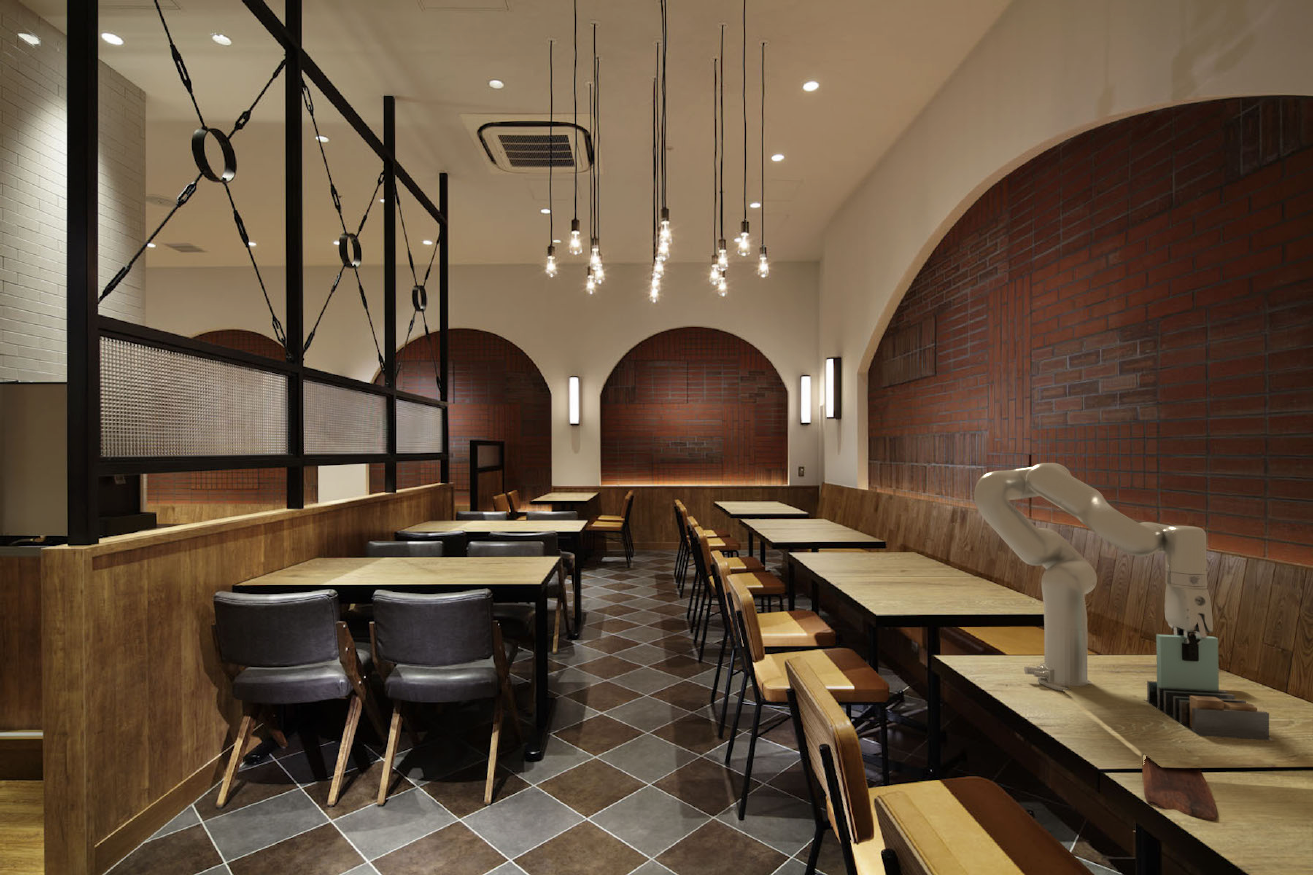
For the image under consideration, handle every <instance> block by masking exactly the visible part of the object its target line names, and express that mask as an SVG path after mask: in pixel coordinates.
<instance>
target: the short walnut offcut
mask: <svg viewBox="0 0 1313 875" xmlns="http://www.w3.org/2000/svg"><path fill="white" fill-rule="evenodd" d="M1250 704H1251V703H1247V702H1246V703H1231V702H1223V709H1226V710H1244V711H1258V707H1256V706H1255V705H1253V704H1252V705H1253V706H1252V705H1250Z"/></svg>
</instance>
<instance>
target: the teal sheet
mask: <svg viewBox="0 0 1313 875" xmlns="http://www.w3.org/2000/svg"><path fill="white" fill-rule="evenodd" d="M1155 639H1156V644H1155V645H1156V681H1157V687H1166V688H1186V689H1205V690H1220V689H1219V688H1220V686H1219V685H1220V684H1219V683H1220V680H1219V679H1220V677H1219V675H1220V674H1219V673H1220V672H1219V670H1220V669H1219V638H1218V637H1215V636H1210V635H1209V636H1208V635H1207V638H1206V639H1201V640H1200V644H1199V661H1184V660H1182V643H1184V636H1183V635H1174V634H1157V633H1156V636H1155ZM1157 695H1158V691H1157Z"/></svg>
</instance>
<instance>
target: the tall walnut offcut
mask: <svg viewBox="0 0 1313 875" xmlns="http://www.w3.org/2000/svg"><path fill="white" fill-rule="evenodd" d="M1192 708H1208V709H1223V701H1222V700H1220V699H1218V698H1216V697H1206V696H1190V726H1191V727H1192Z"/></svg>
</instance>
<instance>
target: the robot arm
mask: <svg viewBox="0 0 1313 875" xmlns="http://www.w3.org/2000/svg"><path fill="white" fill-rule="evenodd" d="M1037 497H1042V498H1043V499H1045V500H1046V501H1048V502H1050V503H1051V504H1053V505H1055V506H1057V507H1058V508H1060V509H1061V510H1063V511H1065V512H1066V513H1067V514H1070V515H1071V516H1073V517H1074V518H1076V519H1077V520H1078V521H1079V522H1081V523H1082V524H1083V525H1085V527H1087V528H1088V529H1089V530H1091V531H1092V532H1093V533H1094V534H1096V535H1097V536H1098V537H1100V538H1102V539H1103V540H1105V541H1106V542H1108V543H1110V544H1111V545H1112V546H1115V547H1116V548H1118V549H1120V550H1122V551H1123V552H1125V553H1126V554H1129V555H1131V556H1135V557H1136V556H1137V557H1146V556H1147V557H1148V556H1150V555H1153V554H1158V553H1159V554H1160V553H1164V557H1165V565H1164V566H1165V570H1164V571H1165V585H1166V586H1165V592H1164V594H1165V595H1164V618H1165V621H1166V622H1167V625H1168V626H1169V627H1170V628H1171V629H1172V631H1173V635H1183V636H1184V643H1182V660H1184V661H1199V644H1200V640H1201V639H1206V638H1207V636H1208V635H1207V633H1208V634H1209V633H1210V634H1211V633H1212V632H1213V631H1214V630H1213V629H1214V622H1213V619H1214V618H1213V610H1212V602H1211V598H1210V593H1209V589H1207V588H1208V571H1207V570H1208V569H1207V568H1208V566H1207V563H1208V562H1207V534H1206V531H1205V529H1203V528H1201V527H1197V526H1193V525H1168V524H1162V523H1158V522H1157V523H1156V522H1150V521H1143V522H1142V521H1141V522H1138V521H1136V520H1133V519H1132V518H1130V517H1128V516H1127V515H1125V514H1123V513H1121V512H1120V511H1119V510H1117V509H1115V508H1114V507H1113V506H1111V505H1110V504H1109V503H1108V502H1107V501H1106V499H1105V497H1104V496H1103V494H1102V493H1101V492H1100V491H1099V490H1097V489H1096V488H1094V487H1092V486H1090V485H1089V484H1087V483H1085V482H1083V481H1082V480H1080V479H1078V478H1076V477H1074V476H1073V475H1072V474H1071V472H1070V470H1069V469H1068V468H1067V467H1066V466H1064V465H1062V464H1060V463H1056V462H1041V463H1037V464H1035V465H1033V466H1030V467H1023V468H1016V469H1011V470H995V471H990V472H987V473H985V474H983V475H982V476H981V477H980V478H979V480H978V481H977V483H976V485H975V488H974V492H973V500H974V503H975V506H976V509H977V511H978V513H979V514H980V516H981V517H982V518H983V520H985V522H986V523H987V524H988V525H989V526H990V527H991V528H992V530H993V531H995V533H997V535H999V537H1000V538H1001V539H1002V540H1003V542H1004V543H1006V545H1007V546H1008V547H1009V548H1010V549H1011V550H1012V551H1013V553H1015V554H1016V556H1017V557H1018V558H1019V559H1020V560H1021V561H1022V562H1024V563H1025V564H1027V565H1029V566H1034V567H1035V566H1042V567H1043V568H1044V569H1045V570H1044V572H1043V574H1042V577H1041V580H1040V581H1041V584H1040V587H1041V592H1042V593H1041V594H1042V599H1043V621H1044V622H1043V623H1044V625H1043V627H1044V628H1043V629H1044V636H1043V637H1044V640H1043V642H1044V646H1043V647H1044V652H1043V653H1044V660H1043V661H1044V662H1040V663H1039V664H1040V665H1037V666H1036V667H1034V666H1024V669H1023V671H1024V674H1025V675H1033V676H1034V677H1035V678H1037V681H1038V683H1039V684H1041V685H1042V686H1044V687H1045V688H1046V687H1047V688H1049V689H1051V690H1056V691H1061V692H1065V691H1072V689H1071V688H1070V687H1084V686H1087V685H1088V684H1093V681H1091V680H1089V679H1088V678H1089V677H1088V672H1089V671H1088V613H1087V612H1088V611H1087V606H1086V595H1087V594H1089V593H1090V592H1092V591H1093V590H1094V589H1095V587H1096V586H1097V582H1098V575H1097V573H1096V570H1095V569H1094V567H1092V565H1091V564H1090V562H1088V560H1086V558H1085V557H1084V556H1082V555H1081V554H1080V552H1078V550H1076V549H1075V548H1074V546H1072V545H1071V543H1069V542H1068V540H1066V539H1065V538H1064V537H1063V536H1062V535H1061V534H1060V533H1059V532H1056V531H1055V530H1053V529H1050V528H1046V527H1037V526H1036V525H1035V524H1034V523H1032V521H1030V520H1029V519H1028V517H1026V515H1025V514H1024V513H1023V512H1022V511H1021V510H1020V509H1018V508H1017V507H1016V506H1014V505H1013V504H1012V503H1011V501H1014V500H1021V499H1028V498H1037Z"/></svg>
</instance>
